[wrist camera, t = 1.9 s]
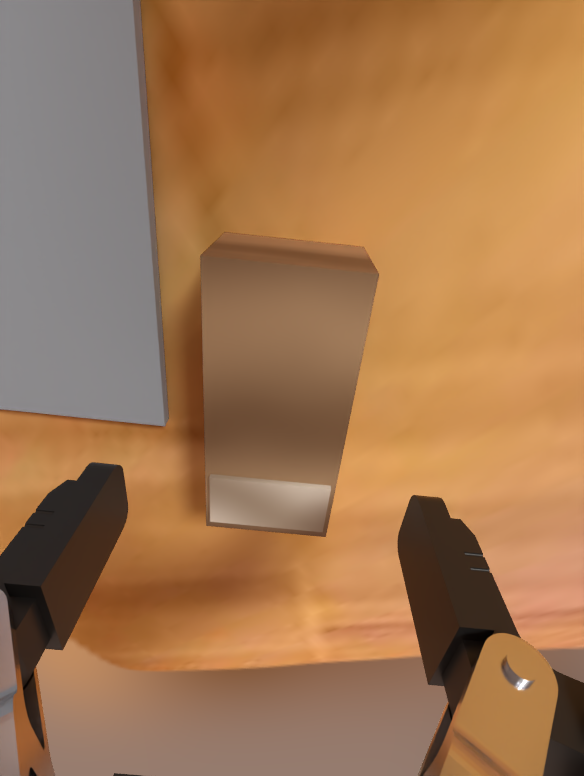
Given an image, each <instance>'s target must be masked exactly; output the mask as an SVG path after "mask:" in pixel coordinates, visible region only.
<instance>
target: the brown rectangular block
mask: <svg viewBox="0 0 584 776" xmlns="http://www.w3.org/2000/svg"><path fill="white" fill-rule="evenodd" d="M200 258H201V303H202V348H203V394H204V439H205V484H206V526H215V527H226V528H237V529H247V530H258V531H268V532H279V533H289V534H300V535H310V536H321V537H326V533H327V528H328V523H329V518H330V513H331V508H332V503H333V498H334V493H335V488H336V483H337V479H338V474H339V469H340V464H341V459H342V454H343V449H344V444H345V439H346V434H347V429H348V424H349V419H350V414H351V410H352V405H353V400H354V395H355V390H356V385H357V380H358V375H359V370H360V365H361V360H362V355H363V350H364V345H365V341H366V336H367V331H368V326H369V321H370V316H371V311H372V306H373V301H374V296H375V291H376V286H377V281H378V276H379V273H378V271H377V270H376V268H375V266H374V264H373V263H372V261H371V259H370V257H369V255H368V254H367V252H366V250H365V248H364V247H360V246H351V245H341V244H332V243H323V242H313V241H304V240H294V239H285V238H275V237H266V236H256V235H247V234H237V233H228V232H225V233H223V234H222V235H221V236H220V237H219V238H218V239H217V240H216V241H215V242H214V243H213V244H212V245H211V246H210V247H209V248H208V249H207V250H206V251H205V252H203V253H202V254H201V255H200Z"/></svg>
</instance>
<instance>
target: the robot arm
mask: <svg viewBox="0 0 584 776" xmlns="http://www.w3.org/2000/svg"><path fill="white" fill-rule="evenodd" d="M127 514H128V501H127V494H126V487H125V480H124V473H123V468H122V466H120V465H114V464H103V463H90V464H89V465H88V466H87V467H86V469H85V470H84V471H83V473H82V474H81V476H80V477H79V478H78V480H77V481H74V480H66V481H65V482H64V483H62V484H61V485H59V486H58V487H57V488H55V489H54V490H52V491H51V492H50V493H48V495H47V496H46V497H45V499H44V500H43V501H42V502H41V504H40V505H39V506H38V508H37V509H36V512H35V513H33V514H32V515H31V517H30V518H29V519H28V521H27V522H26V523H25V527H22V528H21V530H20V531H19V532H18V534H17V535H16V536H15V537H14V539H13V540H12V541H11V543H10V544H9V545H8V546H7V548H6V549H5V550H4V552H3V553H2V554H1V556H0V776H55V772H54V769H53V765H52V761H51V757H50V752H49V746H48V739H47V733H46V727H45V720H44V714H43V707H42V700H41V695H40V688H39V681H38V675H37V669H36V665H37V663H38V661H39V660H40V657H41V656H42V654H43V652H44V650H45V649H55V650H63V649H64V647H65V645H66V643H67V641H68V639H69V637H70V635H71V633H72V631H73V629H74V627H75V625H76V623H77V621H78V619H79V616H80V614H81V612H82V610H83V608H84V606H85V604H86V602H87V600H88V598H89V596H90V594H91V592H92V590H93V588H94V586H95V584H96V582H97V580H98V578H99V576H100V574H101V572H102V570H103V568H104V566H105V564H106V562H107V560H108V558H109V556H110V554H111V552H112V550H113V548H114V546H115V544H116V542H117V540H118V538H119V536H120V534H121V532H122V530H123V528H124V525H125V522H126V519H127ZM398 555H399V559H400V564H401V568H402V572H403V577H404V581H405V586H406V590H407V594H408V599H409V603H410V607H411V612H412V616H413V620H414V625H415V629H416V634H417V638H418V642H419V647H420V651H421V655H422V660H423V664H424V668H425V673H426V677H427V681H428V684H429V685H438V686H444V687H445V691H446V694H447V698H448V703H447V704H446V706H445V709H444V711H443V713H442V716H441V718H440V721H439V723H438V726H437V728H436V731H435V733H434V736H433V738H432V741H431V743H430V746H429V748H428V751H427V753H426V755H425V758H424V760H423V763H422V765H421V768H420V770H419V773H418V775H417V776H584V683H582V682H580V681H578V680H575V679H573V678H570V677H568V676H566V675H563V674H561V673H559V672H557V671H555V670H554V669H552V668H551V667H550V665H549V664H548V662H547V661H546V659H545V658H544V657H543V656H542V655H541V654H540V652H539V651H538V650H536V649H535V648H534V647H533V646H532V645H530V644H529V643H528V642H526V641H525V640H523V639H521V637H520V636H519V634H518V632H517V630H516V627H515V625H514V623H513V621H512V618H511V616H510V614H509V612H508V609H507V607H506V605H505V603H504V600H503V598H502V596H501V593H500V591H499V589H498V587H497V584H496V582H495V580H494V578H493V575H492V573H490V571H489V566H488V564H487V562H486V560H485V557H483V553H482V551H481V548H480V546H479V544H478V542H477V539H476V537H475V535H474V534H473V533H472V532H471V531H470V530H469V528H468V527H467V526H466V525H465V524H464V523H463V522H462V521H461V519H452V518H450V515H449V513H448V510H447V508H446V505H445V503H444V501H443V499H441V498H438V497H428V496H418V495H413V496H412V497H411V499H410V501H409V504H408V507H407V510H406V513H405V516H404V519H403V522H402V525H401V528H400V531H399V535H398ZM114 776H140V775H127V774H115V773H114Z"/></svg>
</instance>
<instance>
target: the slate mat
mask: <svg viewBox="0 0 584 776" xmlns="http://www.w3.org/2000/svg"><path fill="white" fill-rule="evenodd" d="M0 409H4V410H13V411H23V412H32V413H42V414H52V415H61V416H71V417H80V418H90V419H100V420H109V421H119V422H128V423H138V424H148V425H157V426H165V425H166V423H167V421H168V419H169V413H168V399H167V384H166V370H165V355H164V340H163V326H162V311H161V297H160V282H159V267H158V253H157V238H156V223H155V209H154V194H153V180H152V165H151V150H150V136H149V121H148V107H147V92H146V77H145V63H144V48H143V34H142V19H141V4H140V0H0Z"/></svg>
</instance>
